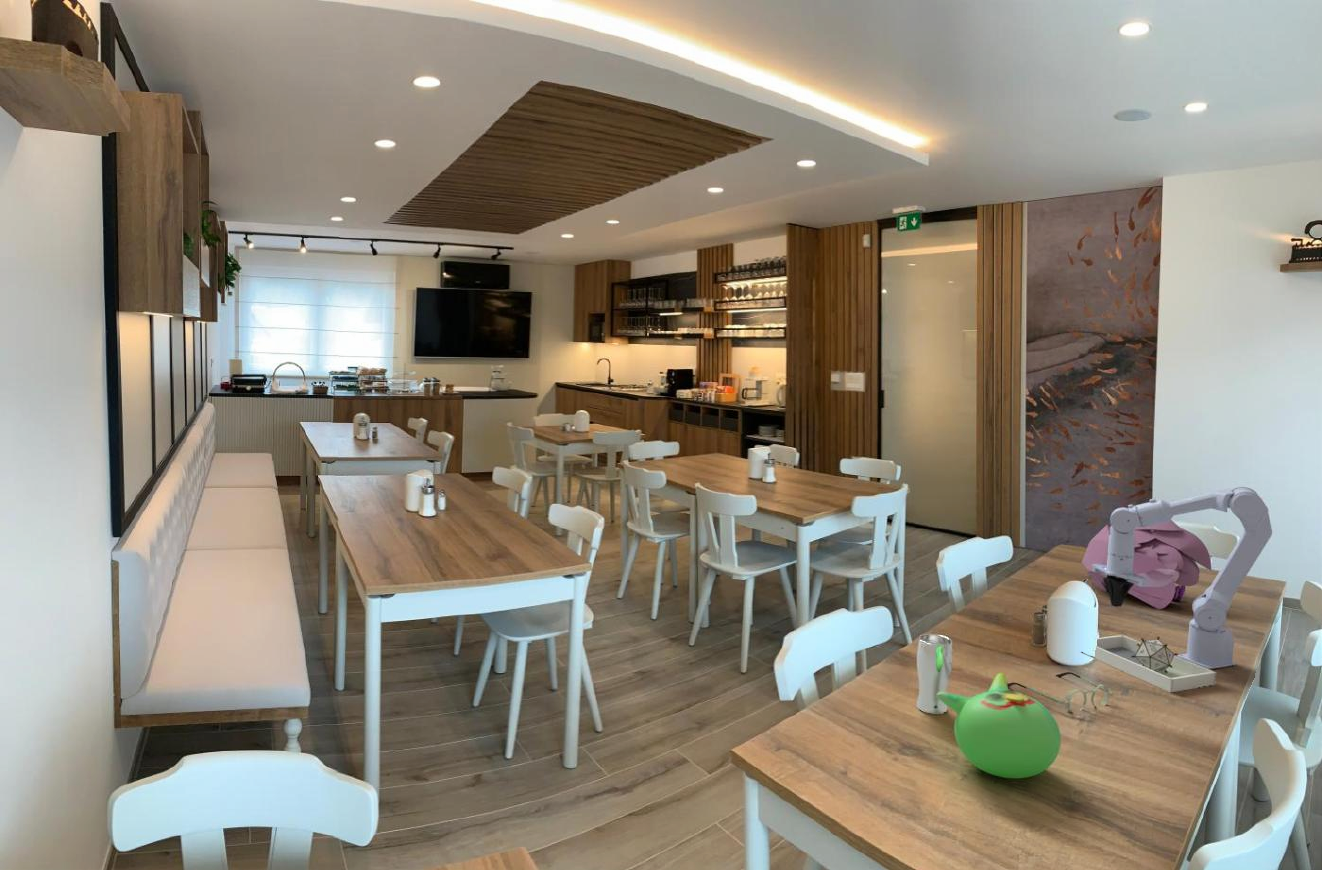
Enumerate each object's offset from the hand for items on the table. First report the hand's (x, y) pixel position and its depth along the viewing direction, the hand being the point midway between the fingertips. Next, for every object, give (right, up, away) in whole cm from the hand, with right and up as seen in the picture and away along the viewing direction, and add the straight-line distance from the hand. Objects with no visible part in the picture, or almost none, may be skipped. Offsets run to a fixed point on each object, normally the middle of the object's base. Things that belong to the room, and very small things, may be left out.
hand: (1116, 605), depth 193 cm
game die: (-1, -12, -16) cm, 20 cm away
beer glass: (-61, -13, -37) cm, 73 cm away
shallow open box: (-2, -12, -14) cm, 18 cm away
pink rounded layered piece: (+33, -7, +42) cm, 54 cm away
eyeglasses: (-31, -14, -29) cm, 44 cm away
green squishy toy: (-57, -16, -59) cm, 84 cm away
